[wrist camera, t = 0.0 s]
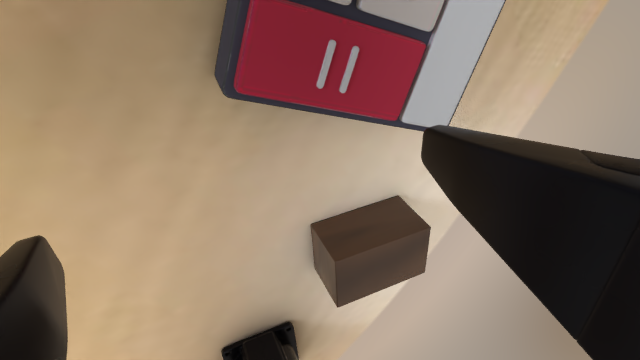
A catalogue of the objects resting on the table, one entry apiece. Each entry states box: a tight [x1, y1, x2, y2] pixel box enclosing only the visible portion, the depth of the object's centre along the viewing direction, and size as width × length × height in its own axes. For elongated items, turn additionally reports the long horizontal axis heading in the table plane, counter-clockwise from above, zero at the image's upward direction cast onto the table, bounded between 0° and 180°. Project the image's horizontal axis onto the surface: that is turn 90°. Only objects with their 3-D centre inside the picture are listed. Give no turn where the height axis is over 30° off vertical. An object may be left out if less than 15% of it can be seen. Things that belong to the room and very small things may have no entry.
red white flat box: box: [215, 0, 506, 131], centre depth 22 cm, size 11×4×15 cm
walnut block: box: [311, 196, 431, 307], centre depth 32 cm, size 5×8×4 cm, turn 94°
